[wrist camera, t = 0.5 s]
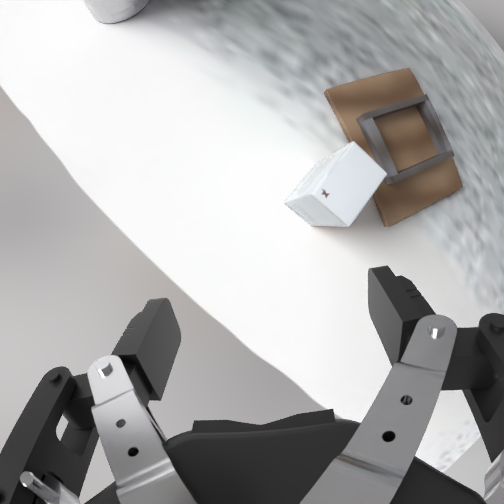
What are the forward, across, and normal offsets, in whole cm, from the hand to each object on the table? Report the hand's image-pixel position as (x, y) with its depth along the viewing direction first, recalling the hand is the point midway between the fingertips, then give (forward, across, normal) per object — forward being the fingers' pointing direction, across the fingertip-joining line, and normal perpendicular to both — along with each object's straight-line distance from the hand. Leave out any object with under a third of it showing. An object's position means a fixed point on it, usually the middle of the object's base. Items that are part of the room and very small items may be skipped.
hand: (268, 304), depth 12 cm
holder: (+28, -18, -2) cm, 34 cm away
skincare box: (+25, -5, +2) cm, 26 cm away
